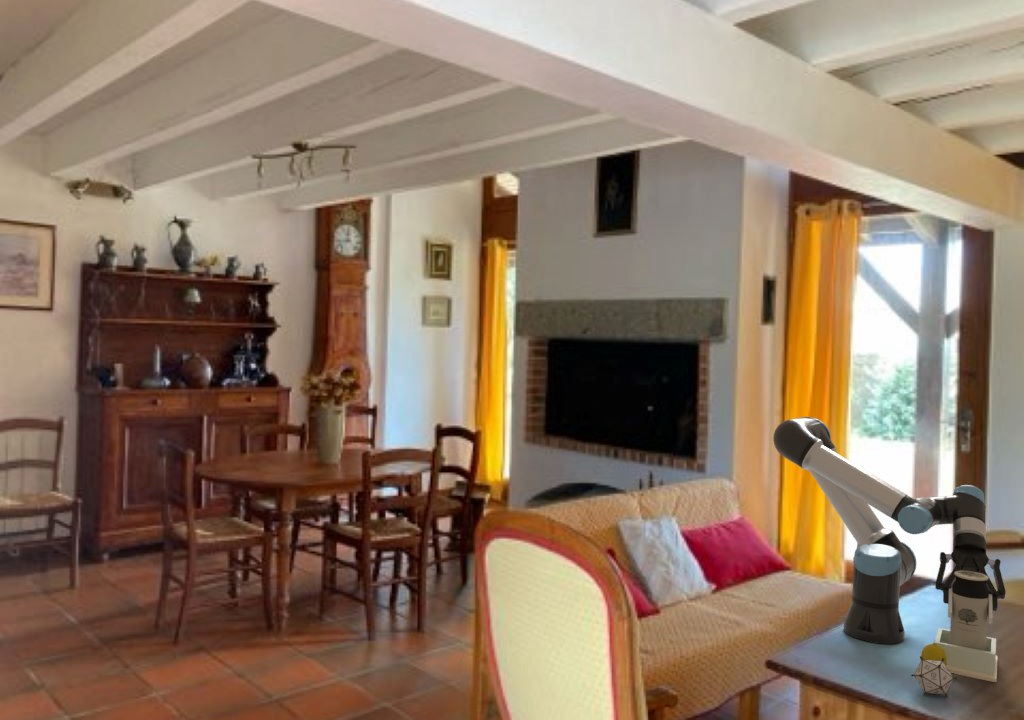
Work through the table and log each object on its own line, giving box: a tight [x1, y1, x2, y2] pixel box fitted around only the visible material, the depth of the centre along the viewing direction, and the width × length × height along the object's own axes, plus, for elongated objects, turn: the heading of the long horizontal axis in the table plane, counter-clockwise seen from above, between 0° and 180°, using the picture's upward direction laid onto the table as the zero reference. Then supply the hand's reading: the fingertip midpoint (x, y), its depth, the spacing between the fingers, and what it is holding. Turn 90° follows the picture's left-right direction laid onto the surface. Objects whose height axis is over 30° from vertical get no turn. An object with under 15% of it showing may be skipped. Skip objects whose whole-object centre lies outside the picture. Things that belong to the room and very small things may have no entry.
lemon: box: [920, 642, 947, 665], centre depth 200 cm, size 6×6×8 cm
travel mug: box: [949, 570, 990, 651], centre depth 208 cm, size 8×8×18 cm
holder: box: [934, 627, 998, 683], centre depth 209 cm, size 18×14×6 cm
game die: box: [910, 655, 959, 699], centre depth 189 cm, size 9×8×10 cm
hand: (970, 617), depth 205 cm, fingers closed on travel mug, 8 cm apart
